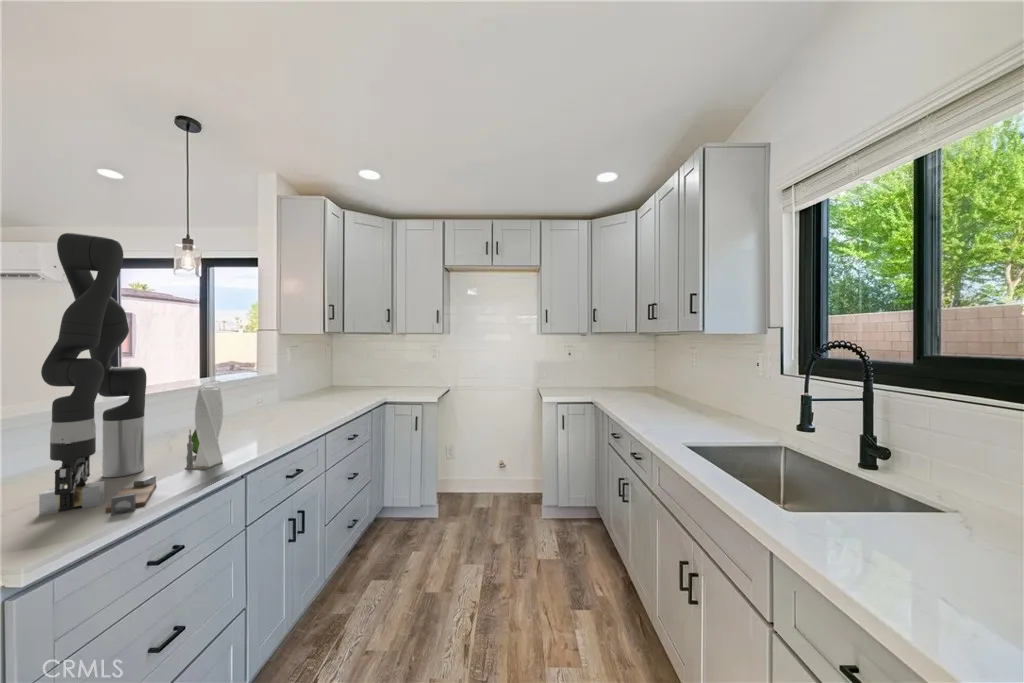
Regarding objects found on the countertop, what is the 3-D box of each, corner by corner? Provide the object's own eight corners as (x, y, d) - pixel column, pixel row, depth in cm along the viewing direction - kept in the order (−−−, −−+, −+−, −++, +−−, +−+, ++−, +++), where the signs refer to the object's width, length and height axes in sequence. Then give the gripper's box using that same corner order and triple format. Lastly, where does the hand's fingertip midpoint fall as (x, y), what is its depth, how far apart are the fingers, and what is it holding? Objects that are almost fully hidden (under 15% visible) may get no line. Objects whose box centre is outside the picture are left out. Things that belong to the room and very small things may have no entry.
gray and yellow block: (46, 509, 95) (46, 488, 95) (104, 499, 101) (104, 480, 101) (39, 515, 92) (39, 494, 92) (99, 505, 97) (99, 485, 97)
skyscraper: (206, 461, 133) (207, 380, 133) (229, 461, 132) (229, 380, 132) (184, 469, 124) (185, 382, 124) (208, 469, 124) (209, 383, 124)
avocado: (210, 457, 137) (210, 423, 137) (184, 458, 136) (185, 424, 136) (222, 450, 145) (222, 419, 145) (198, 451, 144) (199, 419, 144)
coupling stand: (124, 488, 108) (125, 474, 108) (158, 483, 112) (158, 469, 112) (101, 517, 91) (101, 500, 91) (142, 509, 95) (142, 493, 95)
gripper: (62, 434, 100) (62, 496, 100) (37, 446, 88) (37, 518, 88) (103, 430, 104) (103, 490, 104) (85, 442, 92) (85, 510, 92)
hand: (73, 503), depth 96 cm, fingers open, 7 cm apart
